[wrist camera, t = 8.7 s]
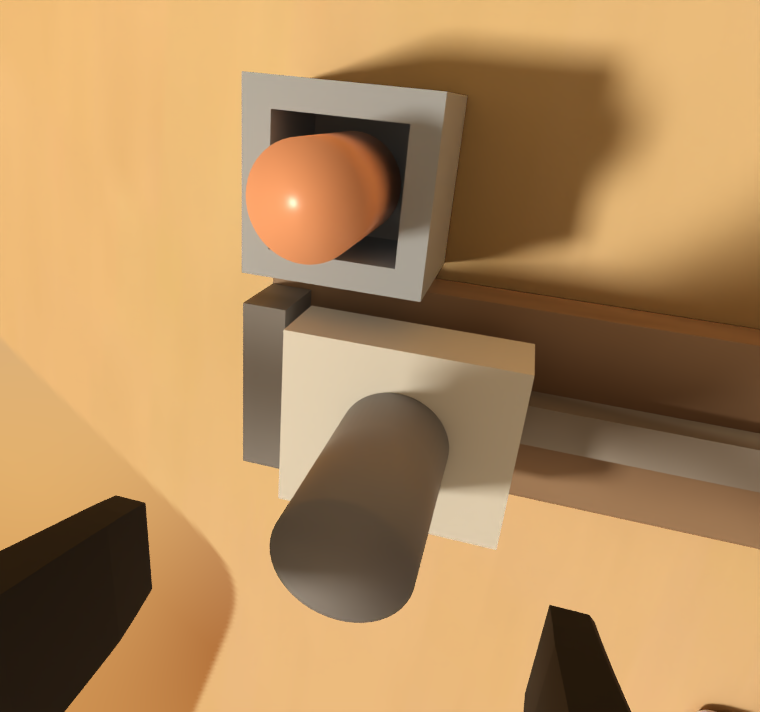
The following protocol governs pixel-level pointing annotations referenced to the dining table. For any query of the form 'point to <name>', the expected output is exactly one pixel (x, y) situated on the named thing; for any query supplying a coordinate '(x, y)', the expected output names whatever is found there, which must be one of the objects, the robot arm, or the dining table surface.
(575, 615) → the robot arm
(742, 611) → the dining table surface
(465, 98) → the box
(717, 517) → the rail board
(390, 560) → the carriage
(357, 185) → the orange cylindrical peg
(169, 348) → the dining table surface
